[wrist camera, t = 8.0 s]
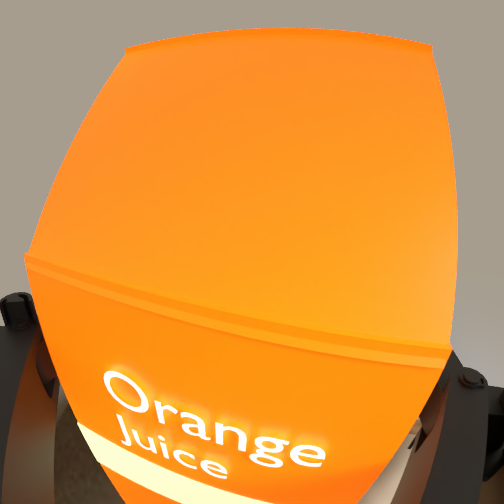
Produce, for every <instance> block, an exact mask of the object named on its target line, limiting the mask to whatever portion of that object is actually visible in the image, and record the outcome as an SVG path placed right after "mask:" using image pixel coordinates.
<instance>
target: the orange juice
mask: <svg viewBox="0 0 504 504" xmlns="http://www.w3.org/2000/svg"><path fill="white" fill-rule="evenodd" d="M125 51H126V54H125V56H124V57H123V58H122V60H121V61H120V63H119V64H118V66H117V67H116V69H115V70H114V72H113V73H112V75H111V76H110V78H109V79H108V81H107V83H106V84H105V86H104V87H103V89H102V90H101V92H100V94H99V95H98V97H97V99H96V100H95V102H94V104H93V105H92V107H91V109H90V110H89V112H88V114H87V116H86V118H85V119H84V121H83V123H82V125H81V127H80V129H79V131H78V133H77V134H76V136H75V139H74V140H73V142H72V144H71V146H70V149H69V150H68V153H67V155H66V157H65V159H64V161H63V163H62V165H61V168H60V170H59V172H58V174H57V177H56V179H55V181H54V184H53V186H52V189H51V191H50V194H49V196H48V199H47V201H46V204H45V206H44V209H43V212H42V215H41V218H40V220H39V223H38V226H37V229H36V232H35V235H34V238H33V241H32V244H31V248H30V251H29V252H28V253H25V254H24V258H25V263H26V265H25V268H27V273H28V278H29V283H30V287H31V291H32V296H33V300H34V303H35V307H36V311H37V315H38V318H39V322H40V325H41V328H42V332H43V335H44V338H45V341H46V344H47V347H48V350H49V353H50V356H51V359H52V362H53V364H54V367H55V370H56V372H57V375H58V377H59V380H60V382H61V385H62V387H63V390H64V392H65V395H66V397H67V399H68V401H69V404H70V406H71V408H72V410H73V412H74V415H75V417H76V419H77V421H78V423H77V424H78V426H79V428H80V430H81V432H82V434H83V436H84V438H85V440H86V441H87V443H88V445H89V447H90V449H91V451H92V452H93V454H94V456H95V458H96V459H97V461H98V462H100V464H101V466H102V467H103V469H104V471H105V472H106V474H107V475H108V477H109V479H110V480H111V482H112V483H113V485H114V486H115V488H116V489H117V491H118V492H119V494H120V495H121V497H122V498H123V500H124V501H125V503H126V504H357V502H358V501H359V500H360V499H361V498H362V496H363V495H364V494H365V493H366V491H367V490H368V489H369V488H370V486H371V485H372V484H373V483H374V481H375V480H376V479H377V477H378V476H379V475H380V473H381V472H382V471H383V469H384V468H385V467H386V465H387V464H388V463H389V461H390V460H391V458H392V457H393V455H394V454H395V452H396V451H397V450H398V448H399V447H400V445H401V443H402V442H403V440H404V439H405V437H406V436H407V434H408V433H409V431H410V429H411V428H412V426H413V424H414V423H415V421H416V419H417V418H418V416H419V414H420V413H421V411H422V409H423V407H424V406H425V404H426V402H427V400H428V398H429V396H430V395H431V393H432V391H433V389H434V387H435V385H436V383H437V381H438V379H439V377H440V375H441V373H442V371H443V369H444V367H445V365H446V362H447V360H448V358H449V356H450V354H451V351H452V348H451V345H450V343H449V338H450V332H451V324H452V316H453V307H454V297H455V284H456V268H457V202H456V187H455V186H456V185H455V173H454V163H453V155H452V146H451V139H450V132H449V126H448V121H447V114H446V109H445V104H444V99H443V94H442V90H441V86H440V81H439V77H438V73H437V69H436V65H435V62H434V58H433V55H432V45H428V44H423V43H419V42H414V41H409V40H404V39H400V38H393V37H388V36H382V35H375V34H368V33H361V32H351V31H341V30H329V29H310V28H261V29H243V30H229V31H219V32H210V33H203V34H195V35H188V36H182V37H176V38H170V39H165V40H160V41H155V42H150V43H146V44H141V45H137V46H133V47H129V48H125Z"/></svg>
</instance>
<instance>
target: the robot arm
mask: <svg viewBox="0 0 504 504" xmlns="http://www.w3.org/2000/svg"><path fill="white" fill-rule="evenodd" d="M0 310H1V314H2V317H3V320H4V323H5V326H0V504H55V501H54V443H55V426H56V413H57V403H58V394H59V386H60V383H59V378H58V376H57V372H56V370H55V367H54V364H53V362H52V359H51V356H50V353H49V350H48V347H47V344H46V341H45V338H44V335H43V332H42V328H41V325H40V322H39V318H38V315H37V313H36V309H35V306H34V302H33V298H32V296H31V295H30V294H28V293H25V292H18V293H13V294H10V295H7V296H5V297H4V298H2V299H1V300H0ZM419 418H420V421H421V424H422V427H421V428H420V430H419V431H418V433H417V434H416V436H415V438H414V439H413V441H412V442H411V444H410V445H409V447H408V448H407V449H411V448H412V450H411V453H410V456H409V459H408V462H407V464H406V467H405V470H404V472H403V475H402V477H401V480H400V482H399V485H398V487H397V490H396V492H395V494H394V497H393V499H392V501H391V503H390V504H504V388H500V387H494V386H488V383H487V380H486V379H485V377H484V376H483V375H482V374H480V373H479V372H478V371H476V370H474V369H471V368H467V367H463V366H462V364H461V362H460V361H459V359H458V357H457V356H456V354H455V353H454V351H453V350H452V351H451V354H450V356H449V358H448V360H447V362H446V365H445V367H444V369H443V371H442V373H441V375H440V377H439V379H438V381H437V383H436V385H435V387H434V389H433V391H432V393H431V395H430V396H429V398H428V400H427V402H426V404H425V406H424V407H423V409H422V411H421V413H420V414H419ZM416 420H417V419H416ZM413 425H414V424H413ZM412 446H413V447H412Z"/></svg>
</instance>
